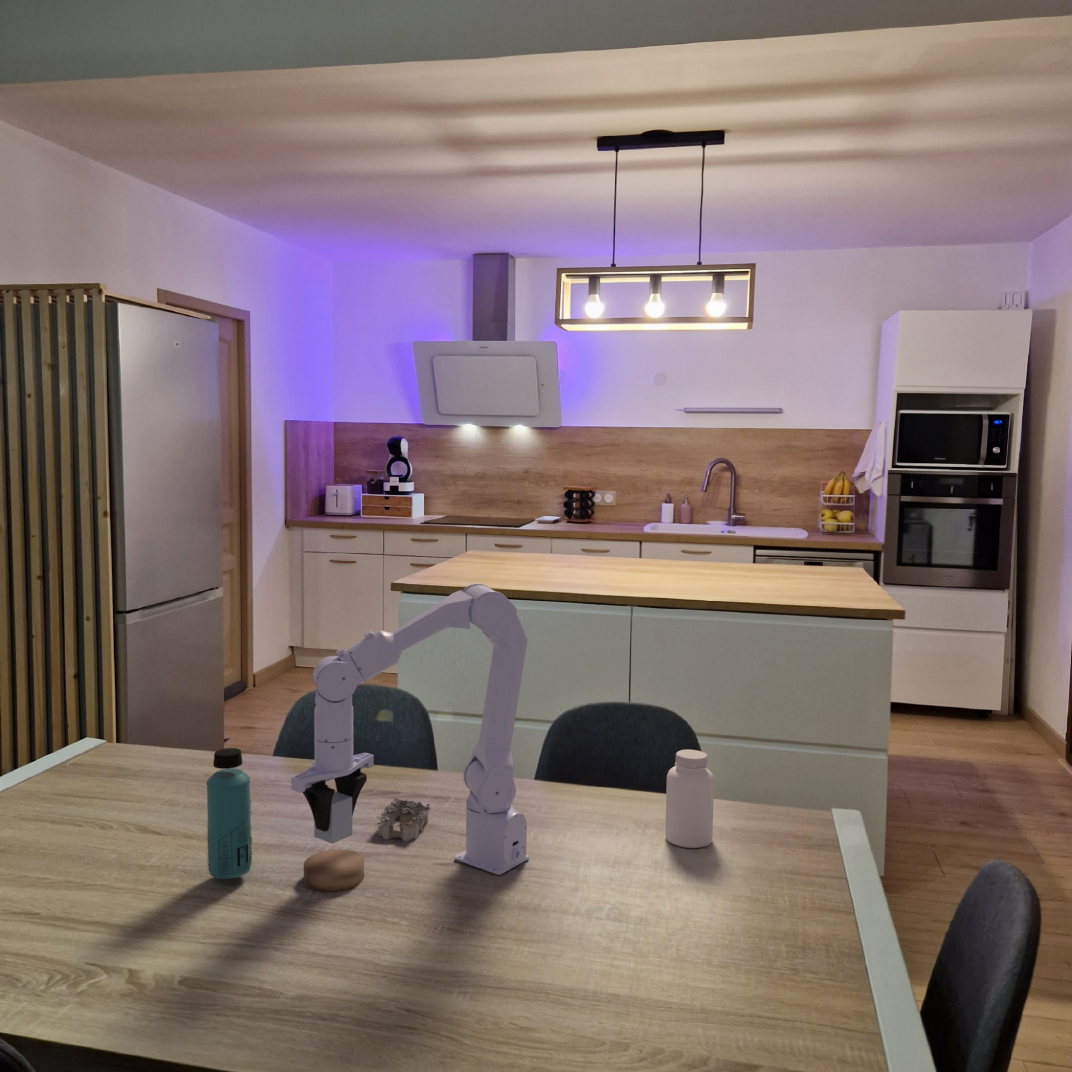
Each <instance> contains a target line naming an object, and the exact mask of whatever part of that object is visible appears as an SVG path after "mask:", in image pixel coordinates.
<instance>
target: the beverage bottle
mask: <svg viewBox="0 0 1072 1072" xmlns="http://www.w3.org/2000/svg"><path fill="white" fill-rule="evenodd" d="M242 765H243V755H242V751H241V749H240V748H236V747H235V748H234V747H226V748H222V749H218V750H216V751H215V752H214V754H213V768H215V769H219V770H217V771H215V772H214V773H213V774H212V775H210V776H209V778H207V781H206V793H207V794H206V795H207V797H206V798H207V799H206V800H207V805H206V807H207V809H206V810H207V821H206V822H207V833H206V836H207V838H206V840H207V845H206V850H207V856H206V857H207V858H206V863H207V864H206V865H207V867H206V869H207V870H208V872H209V875H210V876H211V877H213V878H215V879H216V878H217V879H224V880H225V879H234V878H238V877H241V876H244V875H246V874H247V873H249V871H251V867H252V864H253V861H252V860H253V849H252V848H253V847H252V842H253V838H252V833H253V832H252V824H251V823H252V822H251V815H252V810H251V803H252V800H251V799H252V797H251V790H250V789H251V785H250V782H251V777H250V776H249V775H248V773H246V772H245V771H244V770H242V769H240V768H239V767H240V766H242Z"/></svg>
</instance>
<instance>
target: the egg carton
mask: <svg viewBox="0 0 1072 1072" xmlns="http://www.w3.org/2000/svg"><path fill="white" fill-rule="evenodd" d="M430 811H431V805H430V803H427V804H426V805H424V804H422V801H418V802H416V801H415V800H409V799H406V800H403V799H400V798H398V797H394V798H393V799H392V801H391V802H390V804H388V805H387V806H385V807H384V810H383V811H381V813H380V814H378V815H377V816H376V818H375V820H376V826H378V836H379V837H382V838H383V840H390V839H392V838H401V839H402V841H403V842H409V841H411V840H414V839H415V840H416V839H418V837H419V834H420V831H423V828H424V825H425V824H428V823H429V812H430ZM396 818H397V819H398V818H400V825H396ZM394 824H395V825H394Z"/></svg>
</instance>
